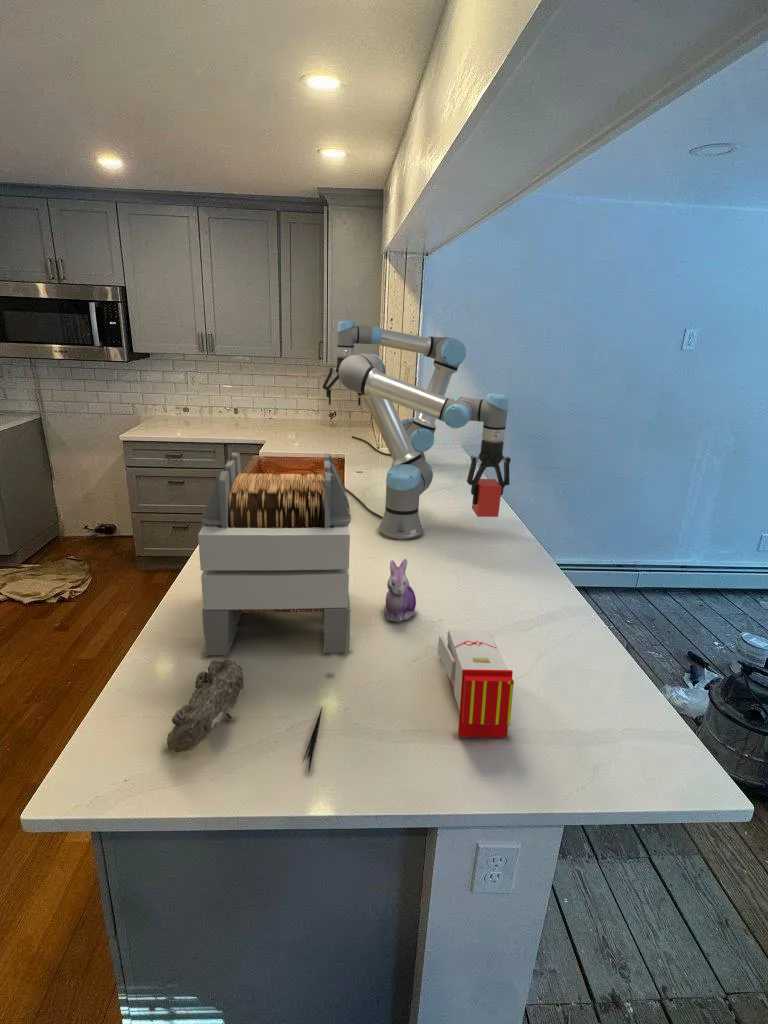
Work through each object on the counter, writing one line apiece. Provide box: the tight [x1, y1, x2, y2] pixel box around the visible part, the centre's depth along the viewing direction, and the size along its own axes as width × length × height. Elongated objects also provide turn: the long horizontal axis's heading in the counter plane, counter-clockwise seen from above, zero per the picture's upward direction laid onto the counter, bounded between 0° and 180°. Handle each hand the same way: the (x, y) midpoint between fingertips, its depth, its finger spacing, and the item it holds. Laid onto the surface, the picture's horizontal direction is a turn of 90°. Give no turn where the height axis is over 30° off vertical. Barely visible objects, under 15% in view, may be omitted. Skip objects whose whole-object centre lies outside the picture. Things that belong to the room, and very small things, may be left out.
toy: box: [437, 628, 515, 738], centre depth 117 cm, size 12×13×30 cm
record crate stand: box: [197, 451, 352, 657], centre depth 136 cm, size 34×33×41 cm
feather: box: [301, 673, 332, 771], centre depth 108 cm, size 2×28×2 cm
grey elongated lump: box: [166, 658, 245, 754], centre depth 106 cm, size 22×10×15 cm
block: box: [471, 478, 502, 518], centre depth 201 cm, size 7×9×11 cm
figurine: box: [384, 558, 417, 623], centre depth 145 cm, size 9×10×15 cm
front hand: (485, 503), depth 201 cm, fingers closed on block, 7 cm apart
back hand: (344, 404), depth 261 cm, fingers open, 13 cm apart
